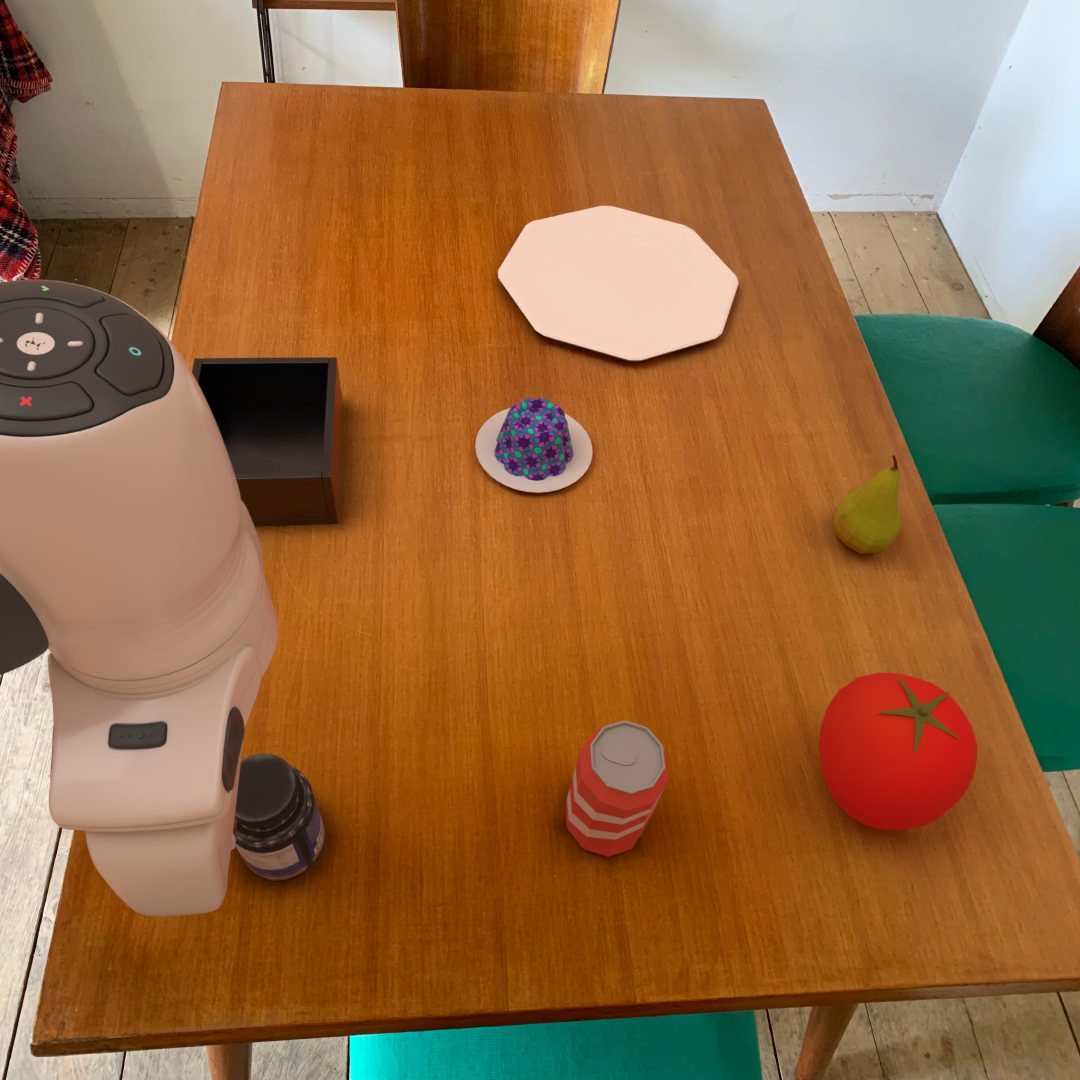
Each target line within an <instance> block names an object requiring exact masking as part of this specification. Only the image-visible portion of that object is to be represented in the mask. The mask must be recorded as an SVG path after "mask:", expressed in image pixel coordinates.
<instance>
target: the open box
mask: <svg viewBox="0 0 1080 1080" xmlns="http://www.w3.org/2000/svg"><path fill="white" fill-rule="evenodd" d="M339 370H340V369H339V364H338V358H337V356H335V357H333V356H332V357H331V356H330V357H328V356H327V357H325V356H323V357H321V356H316V357H315V356H314V357H312V356H311V357H308V356H307V357H306V356H305V357H304V356H303V357H301V356H300V357H203V358H202V357H199V358H198V357H197V358H194V359H193V363H192V370H191V372H192V374H193V375H194V377H195V379H196V381H197V383H198V385H199V387H200V388H201V390H202V393H203V395H204V397H205V399H206V401H207V403H208V405H209V407H210V409H211V412H212V414H213V416H214V419H215V421H216V423H217V426H218V429H219V431H220V434H221V436H222V439H223V441H224V444H225V447H226V450H227V453H228V455H229V458H230V461H231V464H232V467H233V470H234V474H235V477H236V480H237V484H238V487H239V492H240V496H241V500H242V501H243V503H244V504H245V506H246V508H247V510H248V512H249V514H250V516H251V519H252V521H253V524H254V526H255V527H261V526H263V527H264V526H294V525H295V526H296V525H330V524H339V512H340V511H339V510H340V488H341V467H342V466H341V464H342V443H343V441H342V440H343V419H344V402H343V394H342V386H341V378H340V372H339Z"/></svg>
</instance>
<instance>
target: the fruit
mask: <svg viewBox="0 0 1080 1080" xmlns="http://www.w3.org/2000/svg"><path fill="white" fill-rule="evenodd" d="M891 458H892V460H893V466H890V467H887V468H885V469H882V470H881V471H879V472H878V473H876V474H875V475H874V476H873V477H871V478H870V480H869V481H868V482H866V483H865V484H863V485H862V486H857V487H854V488H852V489H851V490H849V491H848V492H847V493H846V495H845V496H844V497H843V498H842V499H841V500H840V501H839V502H838V503H837V506H835V509H834V512H833V525H832V526H833V533H834V534H835V535H836V537H837V538H838V539H839V540H840V541H841V542H842V543H843V544H844V546H846V547H848V548H849V549H851V550H853V551H854V552H856V553H858V554H860V555H863V554H864V555H865V554H877V553H882V552H885V551H886V549H887V548H888V547H889V546H890V545H891V543H892V542H894V540H895V539H896V538H897V536H899V535H900V533H901V529H902V520H901V511H900V509H899V507H898V498H899V497H898V496H899V488H900V482H901V481H900V479H901V472H900V469H899V465H898V460H897V457H896V455H895V454H892V455H891Z"/></svg>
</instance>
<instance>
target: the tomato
mask: <svg viewBox="0 0 1080 1080" xmlns="http://www.w3.org/2000/svg"><path fill="white" fill-rule="evenodd" d="M949 693H950V691H947V692H946V691H945V690H944V689H943V688H941V687H940V686H938V685H936V684H934V683H933V682H930V681H928V680H925V679H922V678H919V677H915V676H911V675H906V674H903V673H897V672H887V671H886V672H875V673H870V674H866V675H861V676H857V677H856V678H854V679H853V680H852V681H850V682H849V683H848V684H846V685H845V686H843V687H841V688H839V690H838V691H837V692H836V693H835V695H834V696H833V698H832V699H831V701H830V702H829V704H828V706H827V708H826V709H825V712H824V714H823V718H822V721H821V724H820V725H821V726H820V730H819V740H818V748H819V749H818V750H819V760H820V761H819V762H820V769H821V773H822V776H823V779H824V782H825V785H826V788H827V789H828V791H829V793H830V795H831V797H832V798H833V800H834V801H835V802H836V803H837V805H838V806H839V807H840V808H841V810H843V811H844V812H845V813H846V814H847V815H848V816H849V817H851V818H853V819H854V820H855V821H857V822H858V823H860V824H862V825H865V826H868V827H870V828H873V829H878V830H882V831H883V830H884V831H885V830H886V831H905V830H906V831H907V830H910V829H911V830H912V829H915V828H920V827H924V826H927V825H929V824H931V823H933V822H936V821H937V820H938V819H939V818H941V817H942V816H944V815H945V814H947V812H948V811H950V810H951V809H952V808H953V807H955V805H956V804H957V803H958V802H959V801H960V800H961V799H962V798H963V797H964V795H965V794H966V792H967V791H968V790H969V788H970V786H971V783H972V782H973V778H974V775H975V771H976V768H977V763H978V742H977V739H976V736H975V732H974V729H973V726H972V725H971V722H970V720H969V719H968V717H967V715H966V714H965V712H964V711H963V709H962V708H961V706H960V705H959V704H958V702H956V700H955V699H954V698H953V697H952V696H951V695H950V694H949Z"/></svg>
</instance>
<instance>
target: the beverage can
mask: <svg viewBox="0 0 1080 1080" xmlns="http://www.w3.org/2000/svg"><path fill="white" fill-rule="evenodd" d="M669 780H670V776H669V767H668V760H667V751H665V750H664V745H663V743H661V741H660V740H659V739H658V738H657V737H656V736H655V734H654V733H653V732H652V731H651V730H650V728H649V727H647V726H644V725H641V724H638V723H634V722H631V721H627V720H626V719H625V720H621V721H618V722H615V723H614V722H613V723H611V724H608V725H604V726H602V728H599V729H595V730H594V731H593V732H592V733H591V735H590V737H589V738H588V739H587V741H586V742H585V743H584V745H583V746H582V748H580V750H579V753H578V756H577V760H576V764H575V767H574V770H573V775H572V779H571V781H570V785H569V789H568V793H567V797H566V800H565V820H566V822H565V823H566V829H567V830H568V831H569V833H570V834H571V836H572V837H573V838H574V839H575V841H576V842H577V844H578V845H579V846H580V847H581V849H583V850H585V851H588V852H591V853H594V854H598V855H600V856H604V857H607V858H610V857H612V856H615V855H618V854H621V853H624V852H627V851H630V850H632V849H634V846H635V845H636V843H637V842H638V840H639V839H640V837H641V835H642V834H643V832H644V830H645V829H646V827H647V825H648V823H649V821H650V820H651V817H652V815H653V813H654V811H655V809H656V807H657V805H658V803H659V801H660V799H661V796H662V795H663V792H664V791H665V788H666V787H667V785H668V782H669Z"/></svg>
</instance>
